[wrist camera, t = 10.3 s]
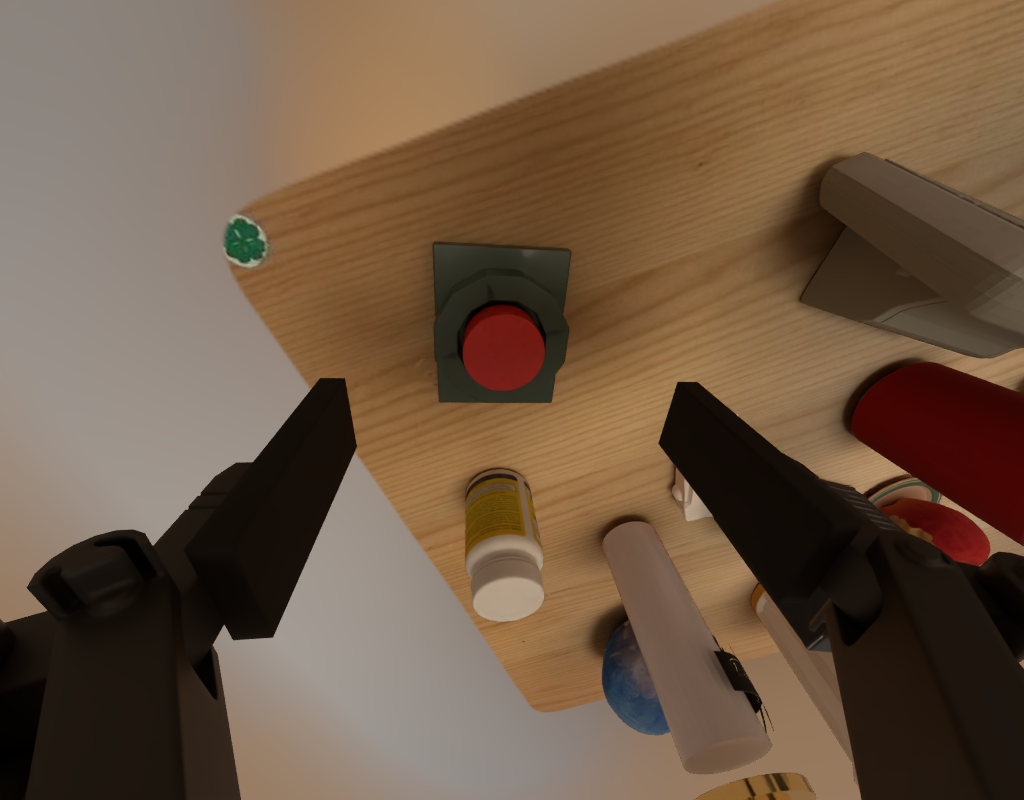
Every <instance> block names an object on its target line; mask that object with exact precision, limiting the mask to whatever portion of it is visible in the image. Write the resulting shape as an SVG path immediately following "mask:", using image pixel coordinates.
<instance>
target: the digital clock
mask: <svg viewBox="0 0 1024 800" xmlns="http://www.w3.org/2000/svg"><path fill="white" fill-rule="evenodd" d="M820 204H821V206H822V207H823V208H824V209H825V210H827V211H828V212H829V213H830V214H832V215H833V216H834V217H836V218H837V219H838V220H840V221H841V222H842V223H844V224H845V225H846V227H845V229H844V230H843V232H842V233H841V235H840V237H839V238H838V240H837V241H836V243H835V244H834V246H833V247H832V249H831V251H830V252H829V254H828V255H827V257H826V258H825V260H824V262H823V263H822V265H821V266H820V268H819V269H818V271H817V273H816V274H815V276H814V277H813V279H812V280H811V282H810V284H809V285H808V287H807V288H806V290H805V292H804V293H803V295H802V298H801V301H802V303H804V304H807V305H810V306H813V307H816V308H819V309H822V310H825V311H828V312H831V313H834V314H837V315H840V316H843V317H846V318H849V319H852V320H855V321H859V322H862V323H865V324H868V325H872V326H875V327H878V328H881V329H884V330H887V331H891V332H894V333H897V334H900V335H903V336H907V337H910V338H913V339H916V340H919V341H923V342H926V343H929V344H932V345H935V346H938V347H942V348H945V349H948V350H951V351H954V352H957V353H960V354H964V355H967V356H971V357H976V358H994V357H997V356H1000V355H1003V354H1005V353H1007V352H1010V351H1012V350H1014V349H1019V348H1024V221H1023V220H1021V219H1019V218H1017V217H1015V216H1012V215H1010V214H1008V213H1006V212H1003V211H1001V210H999V209H997V208H995V207H992V206H990V205H988V204H986V203H984V202H981V201H979V200H977V199H975V198H972V197H970V196H968V195H966V194H964V193H961V192H959V191H957V190H955V189H952V188H950V187H948V186H946V185H944V184H941V183H939V182H937V181H935V180H932V179H930V178H928V177H926V176H924V175H921V174H919V173H917V172H915V171H912V170H910V169H908V168H906V167H904V166H901V165H899V164H897V163H895V162H893V161H890V160H888V159H885V160H883V159H881V158H879V157H877V156H874V155H872V154H870V153H867V152H863V153H860V154H858V155H855V156H853V157H850V158H848V159H846V160H843V161H841V162H839V163H836V164H834V165H832V167H831V168H830V169H829V170H828V172H827V173H826V175H825V176H824V179H823V181H822V183H821V188H820Z"/></svg>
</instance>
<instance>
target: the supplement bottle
mask: <svg viewBox="0 0 1024 800" xmlns="http://www.w3.org/2000/svg"><path fill="white" fill-rule="evenodd" d="M465 501H466V520H465V521H466V529H465V565H466V571H467V573H468V575H469V577H470V579H471V580H472V583H471V590H472V604H473V607H474V610H475V611H476V612H477V613H478V614H479V615H480V616H482V617H483V618H485V619H488V620H492V621H499V622H507V621H514V620H518V619H522V618H524V617H527V616H529V615H530V614H532V613H533V612H535V611H536V610H537V609H538V608H539V607H540V606H541V604H542V602H543V600H544V588H543V582H542V575H541V572H540V571H541V569H542V567H543V561H544V557H543V550H542V545H541V540H540V535H539V530H538V526H537V521H536V516H535V511H534V507H533V501H532V497H531V492H530V488H529V485H528V483H527V481H526V480H525V479H524V478H523V477H522V476H520V475H519V474H517V473H515V472H512V471H509V470H505V469H495V470H490V471H487V472H484V473H482V474H480V475H478V476H477V477H476V478H475V479H474V480H473V481H472V482H471V483H470V485H469V486H468V488H467V491H466V499H465Z"/></svg>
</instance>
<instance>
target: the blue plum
mask: <svg viewBox="0 0 1024 800" xmlns="http://www.w3.org/2000/svg"><path fill="white" fill-rule="evenodd" d="M602 684H603V689H604V693H605V696H606V699H607V701H608V703H609V705H610V706H611V708H612V709H613V711H614V712H615V713H616V714H617V715H618V717H619V718H620V719H621V720H622V721H623V722H624V723H626V724H627V725H628V726H630V727H631V728H633V729H635V730H637V731H638V732H641V733H644V734H648V735H663V734H665V733H668V732H670V729H669V726H668V724H667V721H666V718H665V715H664V713H663V710H662V707H661V705H660V702H659V699H658V697H657V694H656V691H655V689H654V686H653V683H652V680H651V678H650V675H649V672H648V670H647V667H646V664H645V662H644V659H643V656H642V653H641V651H640V648H639V645H638V643H637V640H636V637H635V635H634V632H633V629H632V627H631V624H630V621H629V620H628V621H625V622H624V623H623V624H621V625H620V626H619V627H618V628H617V629H616V630H615V631H614V633H613V634H612V635H611V637H610V639H609V641H608V643H607V646H606V649H605V653H604V659H603V668H602Z"/></svg>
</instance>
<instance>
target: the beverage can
mask: <svg viewBox="0 0 1024 800" xmlns="http://www.w3.org/2000/svg"><path fill="white" fill-rule="evenodd" d="M852 431H853V434H854V435H855V437H856V438H857V439H858V440H859V441H861V442H862V443H864V444H865V445H867V446H868V447H870V448H871V449H873V450H874V451H876V452H878V453H879V454H881V455H882V456H884V457H885V458H887V459H888V460H890V461H891V462H893V463H894V464H896V465H897V466H899V467H900V468H902V469H903V470H905V471H906V472H908V473H910V474H911V475H913V476H914V477H916V478H917V479H919V480H920V481H922V482H923V483H925V484H926V485H928V486H930V487H931V488H933V489H934V490H936V491H937V492H939V493H940V494H942V495H944V496H945V497H947V498H948V499H950V500H951V501H953V502H954V503H956V504H958V505H959V506H961V507H962V508H964V509H965V510H967V511H969V512H970V513H972V514H973V515H975V516H976V517H978V518H980V519H981V520H983V521H984V522H986V523H987V524H989V525H991V526H992V527H994V528H995V529H997V530H998V531H1000V532H1002V533H1003V534H1005V535H1006V536H1008V537H1010V538H1011V539H1013V540H1014V541H1016V542H1017V543H1019V544H1021V545H1022V546H1024V394H1021V393H1019V392H1016V391H1013V390H1010V389H1008V388H1005V387H1002V386H999V385H997V384H994V383H991V382H988V381H986V380H983V379H980V378H977V377H974V376H972V375H969V374H966V373H963V372H960V371H958V370H955V369H952V368H949V367H946V366H944V365H941V364H938V363H932V362H923V363H917V364H913V365H909V366H906V367H904V368H901V369H899V370H897V371H895V372H893V373H891V374H889V375H887V376H885V377H883V378H882V379H880V380H879V381H877V382H876V383H874V384H873V385H872V386H871V387H870V388H869V389H868V390H867V391H866V392H865V393H864V394H863V395H862V397H861V398H860V400H859V402H858V404H857V406H856V409H855V412H854V414H853V418H852Z"/></svg>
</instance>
